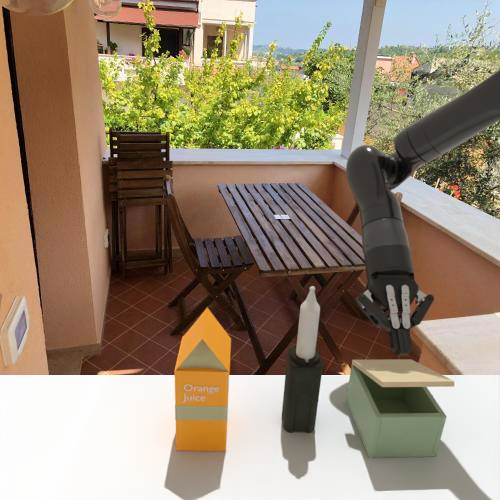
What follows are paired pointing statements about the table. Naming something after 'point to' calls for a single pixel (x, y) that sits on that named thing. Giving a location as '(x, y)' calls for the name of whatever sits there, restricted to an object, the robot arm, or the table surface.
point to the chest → (394, 418)
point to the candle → (303, 372)
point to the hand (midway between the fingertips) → (402, 354)
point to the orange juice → (202, 386)
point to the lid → (401, 373)
